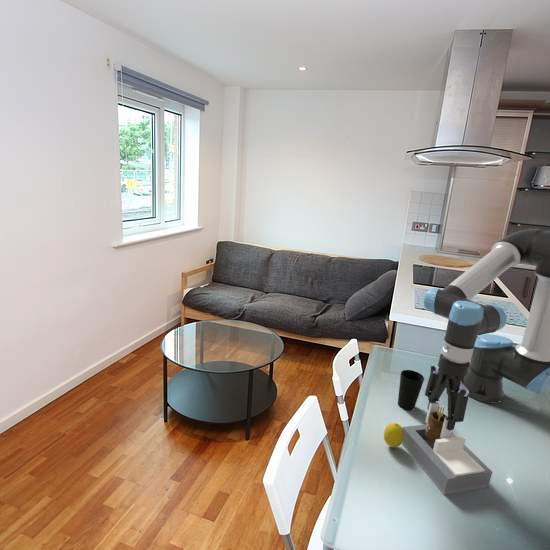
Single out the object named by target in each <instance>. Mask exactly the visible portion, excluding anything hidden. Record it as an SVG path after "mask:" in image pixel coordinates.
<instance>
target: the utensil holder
mask: <svg viewBox="0 0 550 550" xmlns="http://www.w3.org/2000/svg"><path fill="white" fill-rule="evenodd" d="M443 404H444V402H441V405H443ZM446 404H448V401H447V402H446V401H445V404H444V405H443V406H441V405H439V406H438V411H437V412H433V413H432V414H431V416H430V419H429V420H428V422H427V423H426V424H427V426H426V431H425V435H426V437H427V439H428V440H430V441H431V442H433V443H435V440H436V439H441V438H440V435H441V431H442V427H443V423H444V419H445V417H448V415H447V414H448V408H446ZM444 412H445V414H444Z"/></svg>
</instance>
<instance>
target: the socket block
mask: <svg viewBox="0 0 550 550" xmlns="http://www.w3.org/2000/svg"><path fill="white" fill-rule="evenodd" d="M426 426H427V423H425V424H416V425H409V426H408V425H407V426H401V427H402V429H403V431H404V439H403V442H402V443H401V445H402V446H403V447H404V448H405V450H406V451H407V452H408V453H409V454H410V456H411V457H412V458H413V459H414V461H416V463H417V464H418V466H419V467H420V468H421V469H422V470H423V471H424V472H425V474H426V475H427V477H428V478H429V479H430V480H431V481H432V483H434V485H435V486H436V487H437V488H438V490H439V491H440V492H441V493H442V494H443V496H445V495H451V494H457V493H462V492H468V491H473V490H480V489H484V488H485V489H487V488H488V487H489V485H490V481H491V480H492V476H493V470H491V469H490V468H489V467H488V466H487V465H486V464H485V463H484V462H483V461H482V460H481V458H479V457H478V456H477V455H476V454H475V453H474V452H473V451H472V450H471V449H470V448H469V447H467V446H466V445H465V444H464V447H463V449H464V450H465V451H466V452H467V453H468V454H469V455H470V456H471V457H472V458H473V459H474V460H475V461H476V462H477V463H478V464H479V465H480V466H481V467H482V468H483V469H484V470H485V471H484V472H480V473H474V474H467V475H461V476H455V475H454V474H453V473H452V472H451V471H450V470H449V469H448V468H447V466H446V465H445V464H444V463H443V462H442V461H441V460H440V459H439V458H438V456H437V455H436V454H435V453H434V452H433V448H434V444H435V443H433V442H431V441H430V440H428V439H427V437H426V435H425V431H426ZM452 437H457V436H456V435H455V433H453V432H452V431H451V435H450V438H452Z"/></svg>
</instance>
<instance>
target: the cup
mask: <svg viewBox="0 0 550 550" xmlns="http://www.w3.org/2000/svg"><path fill="white" fill-rule="evenodd" d="M399 378H400V379H399V386H398V387H399V389H398V390H399V391H398V399H397V406H398V407H399V408H400V409H402V410H405V411H407V412H408V411H411V412H412V411H414V410H415V407H416V405H417V401H418V399H419V395H420V392H421V390H422V387H423V383H424V381H425V377H424V376H423V375H422V374H421V373H420V372H418V371H415V370H411V369H404V370H402V371H401V372H400V376H399Z"/></svg>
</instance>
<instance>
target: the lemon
mask: <svg viewBox="0 0 550 550" xmlns="http://www.w3.org/2000/svg"><path fill="white" fill-rule="evenodd" d="M402 427H403V426H401V425H400V424H399V423H397V422H391V423H389V424H387V425H386V427H385V428H384V431H383V439H384V442H385V443H386V445H387V446H389V447H391V448H397V447H399V446H401V445H402V442H403V439H404V431H403V429H402Z"/></svg>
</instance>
